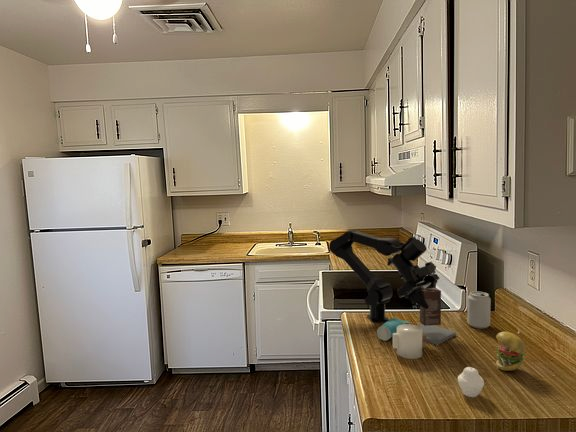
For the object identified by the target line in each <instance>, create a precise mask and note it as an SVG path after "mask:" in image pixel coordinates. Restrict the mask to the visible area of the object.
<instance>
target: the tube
mask: <svg viewBox="0 0 576 432" xmlns="http://www.w3.org/2000/svg"><path fill="white" fill-rule="evenodd" d="M410 323H411V322H410V321H407V320H403V319H398V318H394V317H390V318H388V321H385V322H384V323H383V324H382V325H380V326H379V327H378V328H377V330H376V335H377V337H378V338H379V339H380V340H381V341H384V342H385V341H389V340H390V339H391V338H393V333H397V326H399V325H402V324H410Z"/></svg>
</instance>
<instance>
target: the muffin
mask: <svg viewBox="0 0 576 432" xmlns="http://www.w3.org/2000/svg"><path fill="white" fill-rule="evenodd" d="M482 377H483V376H481V375H480V374H479V370H478V369H476V368H474V367H471V366H466V367H465V368H464V369H463V370H462V372H461V373H460V374H459V375H458V376H457V381H458V386H459V388H460V389H461V391H462V393H463V395H465V396H466V397H469V398H477V397H478V395H479V394H480V393H481V391H482V390H483V387H484V386H485V381H484V378H482Z"/></svg>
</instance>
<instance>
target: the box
mask: <svg viewBox="0 0 576 432" xmlns="http://www.w3.org/2000/svg"><path fill="white" fill-rule="evenodd" d="M420 291H421V294H422V296H423V297H424V299H425V301H426V302H427V304H428V306H429V308H428V309H426V308H424V307H422V306H420V305H419V323H420V324H423V325H424V326H428V325H434V326H441V325H442V324H441V323H442V322H441V321H442V314H441V313H442V311H441V310H442V290H441V289H439V288H437V287H436V288H420Z"/></svg>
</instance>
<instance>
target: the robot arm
mask: <svg viewBox="0 0 576 432" xmlns="http://www.w3.org/2000/svg"><path fill="white" fill-rule="evenodd" d="M355 243H356V244H357V243H358V244H360V245H362V246H367V247H369V248H373V249H374V250H376V252H377V253H379V254H381V255H383V256H386V257H389V256H393V257H389V258H388V259H387V263H386V265H387V266H392V265H393V266H394V267H395V269H396V270H397V271H398V273H399V274H400V275H399V278H400V279H403V280H404V281H405V282H404V283H403V284H402V285H400V287H399V288H398V289H397V290H396V293H397V295H398V296H399V298H400V299H401V298H403V297H404V298H405V299H408V300H410V301H411V302H413V303H416V304H417V305H418V306H419V307H420V306H422V307H424V308H426V309H428V308H429V306H428V304H427V302H426V301H425V299H424V297H423V296H422V294H421V291H420V289H423V288H437V283H438V281H439V280H440V277H439V276H438V274H437V273H436V269H437V266H436V265H435V264H434V263H433V262H432V261H428V262H425V264H424V266H421V267H420V266H419V265H418V264H416V265H415V264H414V263H413V262H415V261H416V260H417V259H419V258H420V257H421V256H422V255H423V254H424V253H425V252H426V251H427V246H426V244H425V243H424V242H423V241H421V240H420V239H417V237H415V236H411V237H409V238H408V240H407V241H406V242H405V243H404V242H401V241H400V240H399V239H398V238H394V237H378V236H377V235H372V234H368V233H365V232H361V231H359V230H357V229H351V230H349V229H348V230H347V231H345V232H344V233H343V234H342V235H340V236H338V237H337V238H335V239H332V240H331V241H330V242H329V245H328V246H329V251H330V253H332V254H333V255H334V256H335V257H336V258H339V259H341V260H343V261H344V262H345V263H346V264H347V265H348V267H349V268H351V270H352V272H354V273H355V274H356V276H358V278H359V279H360V280H361V281H362V282H363V283H364V285H365V286H366V290H367V294H368V295H367V296H366V297H365V298H364V302H365V305H368V306H369V314H367V315H366V317H367V318H368V319H369V320H370V321H371V322H373V323H375V322H376V323H377V322H387V321H388V320H389V318H388V317H386V303H389V302H390V299H391V298H392V297H393V295H394V293H393V291H394V290H393V288H392V286H391V285H392V284H391V283H389V282H388V281H387V279H386V278H385V277H380V278H379V277H377V276H376V275H374V273H373V272H372V271H371V270H370V269H369V268H368V267H367V265H365V264H364V262H363V261H362V260H361V259H360V258H359V257H358V256H357V254H356V253H354V250H353V245H354V244H355Z"/></svg>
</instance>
